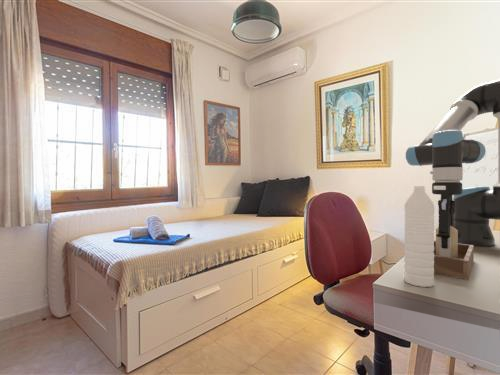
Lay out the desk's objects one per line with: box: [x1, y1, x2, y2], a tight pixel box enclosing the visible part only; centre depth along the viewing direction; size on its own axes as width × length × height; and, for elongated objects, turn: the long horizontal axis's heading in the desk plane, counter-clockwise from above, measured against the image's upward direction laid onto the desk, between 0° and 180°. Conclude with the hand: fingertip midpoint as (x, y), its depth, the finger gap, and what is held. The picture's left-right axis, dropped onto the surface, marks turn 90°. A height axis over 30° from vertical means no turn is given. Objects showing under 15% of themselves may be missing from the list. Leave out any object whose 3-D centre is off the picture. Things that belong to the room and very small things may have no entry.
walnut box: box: [433, 240, 475, 281], centre depth 83 cm, size 23×12×5 cm, turn 137°
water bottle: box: [403, 185, 446, 288], centre depth 68 cm, size 9×6×25 cm
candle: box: [435, 226, 459, 259], centre depth 83 cm, size 6×6×10 cm
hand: (446, 256), depth 83 cm, fingers closed on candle, 5 cm apart
